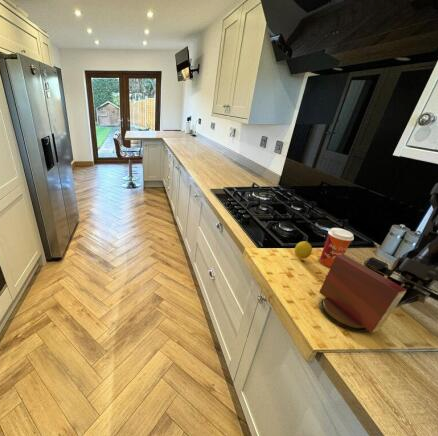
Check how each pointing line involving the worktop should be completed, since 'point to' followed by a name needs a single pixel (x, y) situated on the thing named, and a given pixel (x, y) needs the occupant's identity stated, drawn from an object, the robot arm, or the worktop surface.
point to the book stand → (359, 295)
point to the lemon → (303, 250)
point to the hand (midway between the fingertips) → (386, 308)
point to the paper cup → (335, 245)
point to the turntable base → (339, 322)
